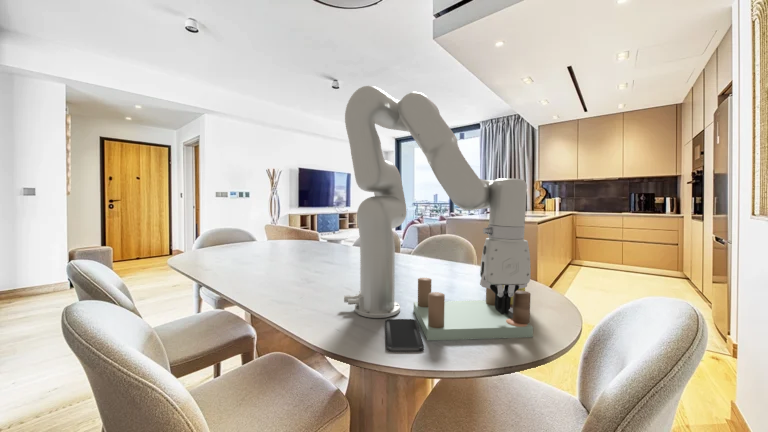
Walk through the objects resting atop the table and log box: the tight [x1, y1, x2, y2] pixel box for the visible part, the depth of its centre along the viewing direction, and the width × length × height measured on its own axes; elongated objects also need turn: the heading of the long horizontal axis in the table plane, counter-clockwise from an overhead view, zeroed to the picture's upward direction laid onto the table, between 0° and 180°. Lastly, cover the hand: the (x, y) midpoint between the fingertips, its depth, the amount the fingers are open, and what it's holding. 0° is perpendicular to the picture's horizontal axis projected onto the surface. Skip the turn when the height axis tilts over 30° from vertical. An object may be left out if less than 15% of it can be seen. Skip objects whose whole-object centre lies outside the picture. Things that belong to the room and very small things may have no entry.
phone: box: [384, 318, 425, 353], centre depth 70 cm, size 8×1×15 cm
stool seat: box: [413, 277, 534, 341], centre depth 77 cm, size 24×18×9 cm
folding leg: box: [507, 290, 532, 324], centre depth 75 cm, size 11×4×7 cm, turn 12°
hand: (502, 311), depth 71 cm, fingers closed
